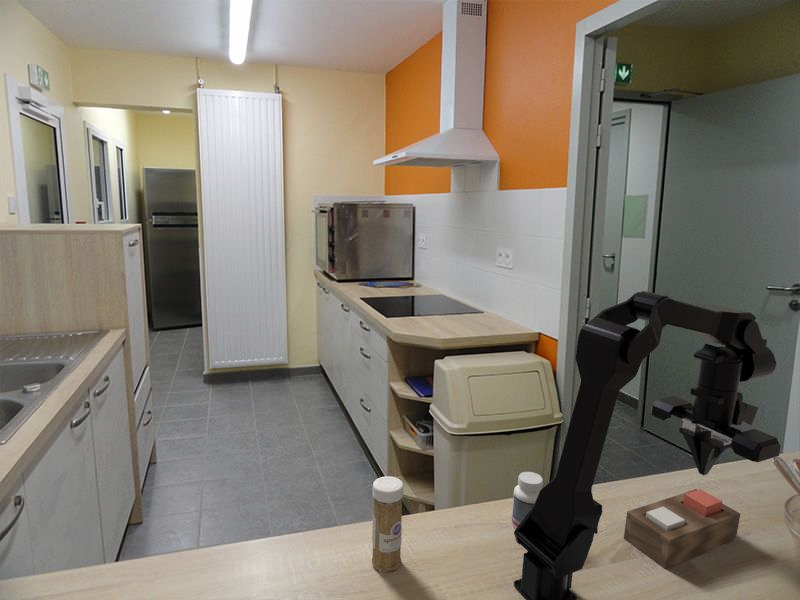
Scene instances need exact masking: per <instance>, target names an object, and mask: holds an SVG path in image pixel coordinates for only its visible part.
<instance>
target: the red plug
mask: <svg viewBox="0 0 800 600" xmlns="http://www.w3.org/2000/svg"><path fill="white" fill-rule="evenodd" d="M683 504H684V505H686V506H687V507H689V508H691V509H692V510H694V511H696V512H697V513H699V514H701V515H702V516H704V517H709V516H711V515H714V514H717V513H720V512H721V507H722V504H723V500H721V499H719V498H718V497H716V496H714V495H712V494H710V493H708V492H706V491H704V490H703V489H697V490H696V491H693V492H690V493H687V494H685V495H684V502H683Z"/></svg>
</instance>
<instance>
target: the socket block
mask: <svg viewBox="0 0 800 600" xmlns="http://www.w3.org/2000/svg"><path fill="white" fill-rule="evenodd" d="M696 490H698V489H696V488H695V489H692V490H688V491H687V492H683V493H679V494H676V495H674V496H671V497H668V498H664V499H661V500H658V501H656V502H652V503H650V504H647V505H642V506H640V507H637V508H635V509H630V510H628V511H627V510H626V518H625V525H624V532H623V539H624V540H625V541H626V542H628V543H629V544H631V545H632V546H633V547H635V548H636V549H637V550H639V551H640V553H643V554H644V555H646V556H647V557H648V558H650V560H652V561H654V562H655V563H657V564H658V565H659V566H660V567H662V568H663V569H665V570H666V569H669V568H671V567H674V566H676V565H678V564H681V563H684V562H686V561H689V560H690V559H694V558H696V557H699V556H701V555H703V554H706V553H708V552H711V551H714V550H715V549H718V548H721V547H724V546H725V545H728V544H730V543H733V542H735V541H737V535H738V530H739V523H740V518H741V513H740V512H738V510H735V509H733V508H731V507H729V506H728V505H726V504H724V503H722V507H721V512H720V513H717V514H714V515H711V516H709V517H704V516H702V515H701V514H699V513H697V512H696V511H694V510H692V509H691V508H689V507H687V506H686V505H684V504H683V502H684V495H685V494H687V493H690V492H693V491H696ZM660 507H665V508H667V509H668V510H670V511H671V512H673V513H675V514H676V515H678V516H680V517H681V518H683V519H684V520H685V523H684V526H681V527H678V528H676V529H673V530H670V531H666V530H665V529H663V528H662V527H660V526H659V525H657V524H656V523H654V522H653V521H651V520H650V519H648V518H647V517H646V512H648V511H651V510H654V509H657V508H660Z"/></svg>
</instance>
